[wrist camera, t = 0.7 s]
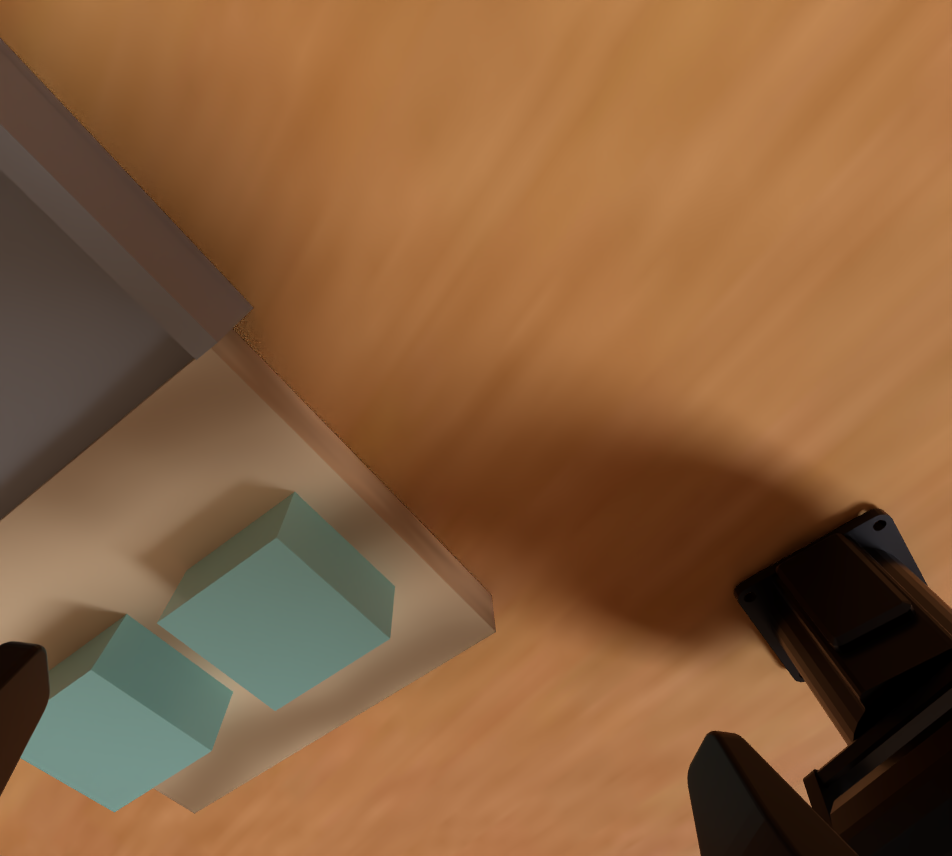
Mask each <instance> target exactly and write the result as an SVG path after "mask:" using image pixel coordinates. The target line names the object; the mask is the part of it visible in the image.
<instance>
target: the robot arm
mask: <svg viewBox="0 0 952 856" xmlns="http://www.w3.org/2000/svg"><path fill="white" fill-rule="evenodd" d="M877 521H878V522H877ZM875 522H877V523H876V524H874V523H875ZM750 592H751V593H750ZM747 593H750V594H748V595H746V594H747ZM734 596H735V598H736V599H737V601H738V602H739V604H740V605H741V607H742V608H743V609H744V611H745V612H746V614H747V615H748V616H749V618H750V619H751V620H752V622H753V623H754V625H755V626H756V627H757V629H758V630H759V631H760V633H761V634H762V636H763V637H764V638H765V640H766V641H767V642H768V644H769V645H770V647H771V648H772V649H773V651H774V652H775V653H776V655H777V656H778V658H779V659H780V660H781V662H782V663H783V664H784V666H785V667H786V668H787V670H788V671H789V673H790V674H791V675H792V677H793V678H794V679H795V680H796V681H798V682H806V683H807V685H808V686H809V688H810V689H811V691H812V692H813V694H814V695H815V697H816V698H817V700H818V701H819V703H820V704H821V706H822V707H823V709H824V710H825V712H826V713H827V715H828V716H829V718H830V719H831V721H832V722H833V724H834V725H835V727H836V728H837V730H838V731H839V733H840V734H841V736H842V737H843V739H844V740H845V742H846V743H847V745H848V746H847V747H846V748H845V749H843V750H842V751H841V752H840V753H838V754H837V755H836V756H835V757H834V758H832V759H831V760H830V761H829V762H828V763H826V764H825V765H824V766H823V767H822V768H820V769H819V770H816V769H814V770H813V771H812V772H811V773H809V774H808V775H807V776H806V777H805V778H803V781H804V785H805V788H806V791H807V794H808V797H809V800H810V803H811V806H812V808H811V807H810V806H809V805H808V804H807V803H806V802H805V800H804V799H803V798H802V797H801V796H800V795H799V794H798V793H797V792H796V791H795V790H794V789H793V788H792V787H791V786H790V785H789V784H788V783H787V782H786V781H785V780H784V779H783V778H782V777H781V776H780V775H779V774H778V773H777V772H776V771H775V770H774V769H773V768H772V767H771V766H770V765H769V764H768V763H767V762H766V761H765V760H764V759H763V758H762V757H761V756H760V755H759V754H758V753H757V752H756V751H755V750H754V749H753V748H752V747H751V746H750V745H749V744H748V743H747V742H746V741H745V740H744V739H743V738H742V737H741V736H739V735H737V734H735V733H729V732H721V731H711V732H709V733H708V734H707V735H706V736H705V738H704V740H703V742H702V744H701V746H700V747H699V749H698V751H697V753H696V755H695V757H694V759H693V760H692V762H691V764H690V767H689V770H688V777H687V778H688V789H689V794H690V800H691V805H692V811H693V816H694V821H695V827H696V832H697V838H698V843H699V848H700V854H701V856H952V609H951V608H950V607H949V606H948V605H947V604H946V603H945V602H944V601H943V600H942V599H941V598H940V597H938V596H937V595H936V594H935V593H934V592H933V591H932V590H931V589H930V588H929V587H928V586H927V584H926V582H925V580H924V578H923V576H922V574H921V572H920V570H919V569H918V567H917V565H916V563H915V561H914V559H913V557H912V555H911V553H910V552H909V550H908V548H907V546H906V544H905V542H904V540H903V538H902V536H901V534H900V533H899V531H898V529H897V527H896V525H895V523H894V521H893V519H892V518H891V517H890V516H889V515H888V514H887V513H886V512H884V511H883V510H881V509H872V510H870V511H867V512H866V513H864V514H862V515H860V516H859V517H857V518H855V519H853V520H851V521H850V522H848V523H846V524H844V525H843V526H841V527H839V528H837V529H835V530H834V531H832V532H830V533H828V534H827V535H825V536H823V537H821V538H820V539H818V540H816V541H814V542H812V543H811V544H809V545H807V546H805V547H804V548H802V549H800V550H798V551H796V552H795V553H793V554H791V555H789V556H788V557H786V558H784V559H782V560H780V561H779V562H777V563H775V564H773V565H772V566H770V567H768V568H766V569H765V570H763V571H761V572H759V573H757V574H756V575H754V576H752V577H750V578H749V579H747V580H745V581H743V582H741V583H740V584H739V585H737V586H736V588H735V589H734ZM49 696H50V682H49V670H48V659H47V652H46V649H45V648H44V647H43V646H42V645H40V644H33V643H25V642H18V641H10V642H6V643H3V644H1V645H0V796H1V794H2V792H3V790H4V788H5V786H6V784H7V782H8V780H9V779H10V777H11V775H12V773H13V771H14V769H15V767H16V765H17V763H18V761H19V759H20V757H21V755H22V754H23V752H24V750H25V748H26V746H27V744H28V742H29V740H30V738H31V736H32V734H33V732H34V730H35V729H36V727H37V725H38V723H39V721H40V719H41V717H42V715H43V713H44V711H45V709H46V706H47V704H48V700H49Z"/></svg>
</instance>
